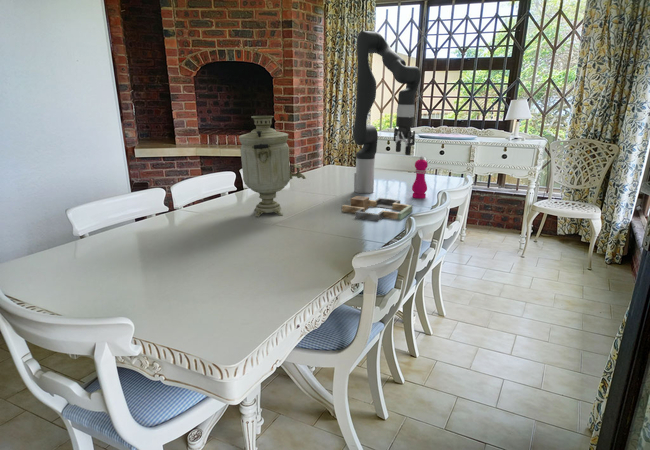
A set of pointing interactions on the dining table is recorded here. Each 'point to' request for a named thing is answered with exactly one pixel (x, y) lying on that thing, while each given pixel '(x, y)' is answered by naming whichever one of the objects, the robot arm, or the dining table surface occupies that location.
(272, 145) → the samovar
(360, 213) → the wooden strip frame
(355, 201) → the walnut block
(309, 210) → the dining table surface
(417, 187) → the pepper mill
